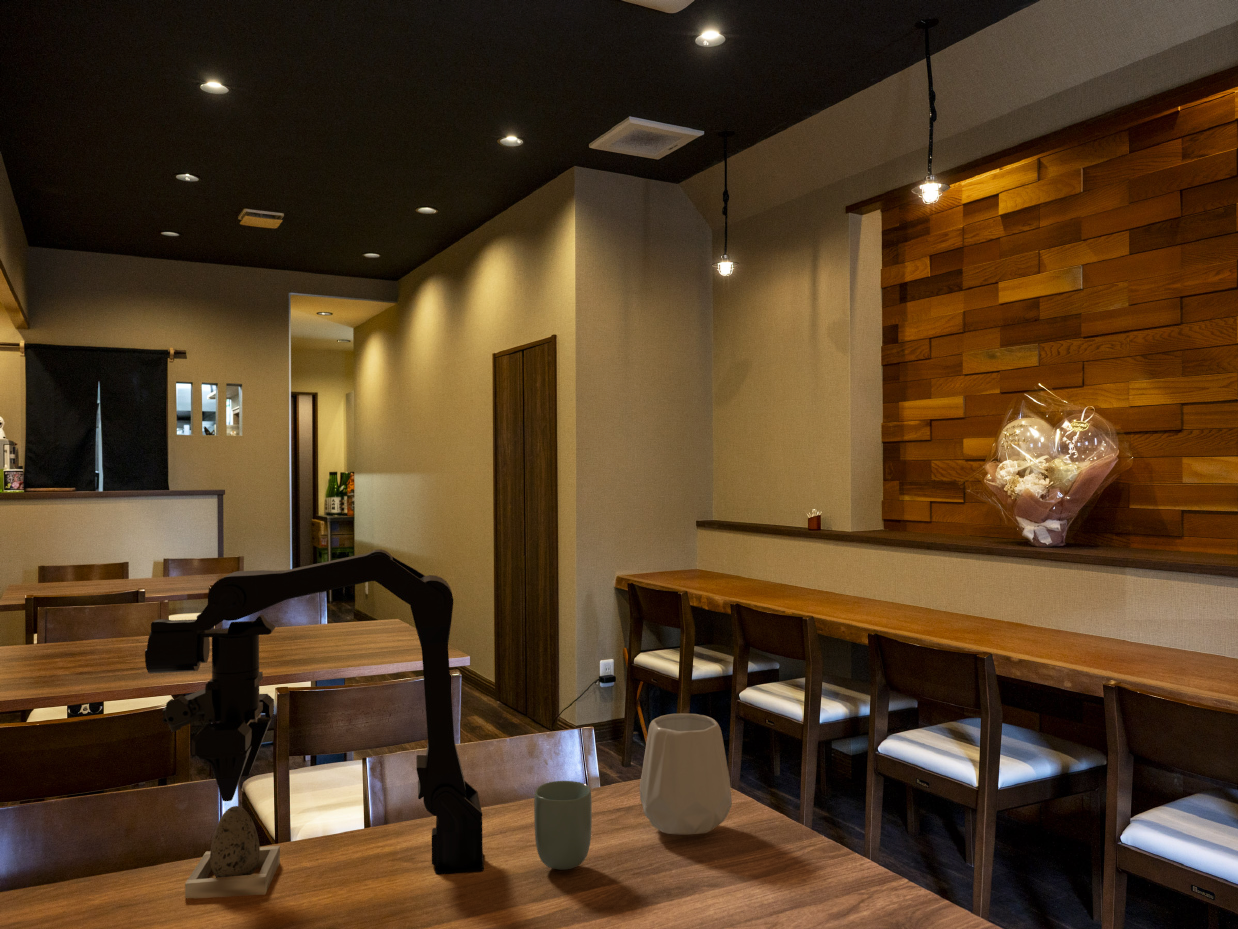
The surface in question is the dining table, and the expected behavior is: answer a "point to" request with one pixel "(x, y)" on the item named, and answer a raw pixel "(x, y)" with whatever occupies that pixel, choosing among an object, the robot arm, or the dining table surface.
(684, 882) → the dining table surface
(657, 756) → the vase
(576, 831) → the cup
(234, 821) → the decorative egg
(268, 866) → the egg stand
